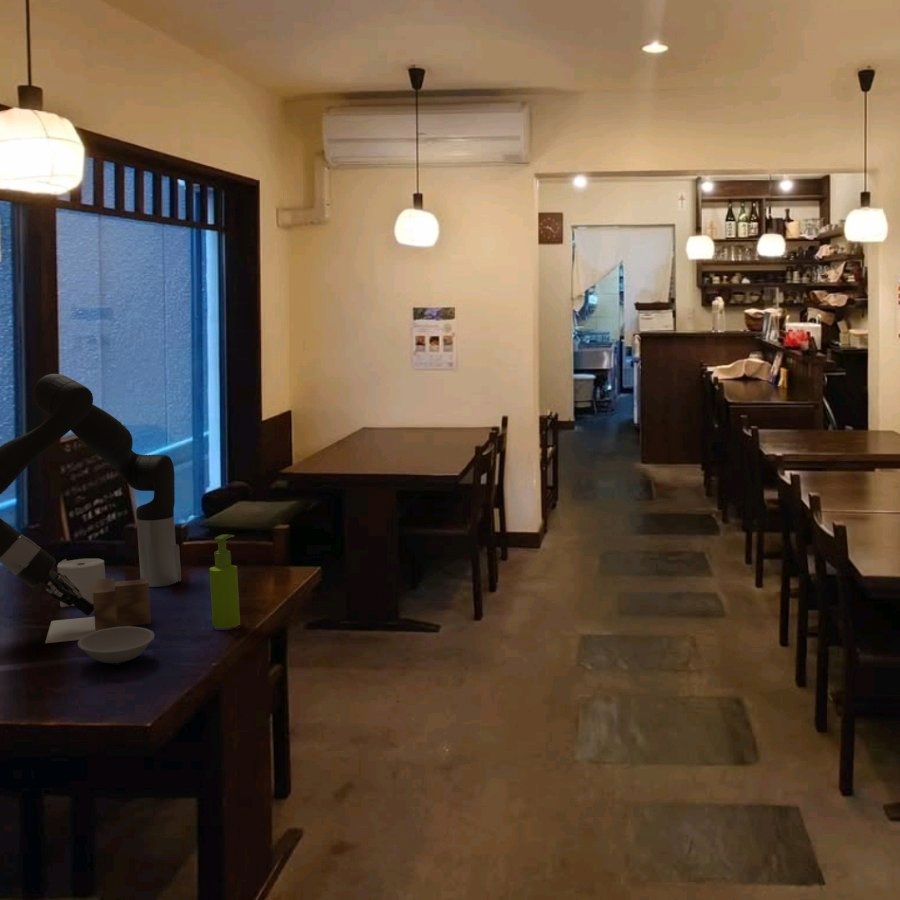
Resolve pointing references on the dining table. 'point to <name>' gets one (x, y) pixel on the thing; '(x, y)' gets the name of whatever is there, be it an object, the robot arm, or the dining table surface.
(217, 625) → the soap dispenser
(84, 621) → the board
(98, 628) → the t block
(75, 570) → the toilet tissue
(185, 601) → the dining table surface
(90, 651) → the dish
